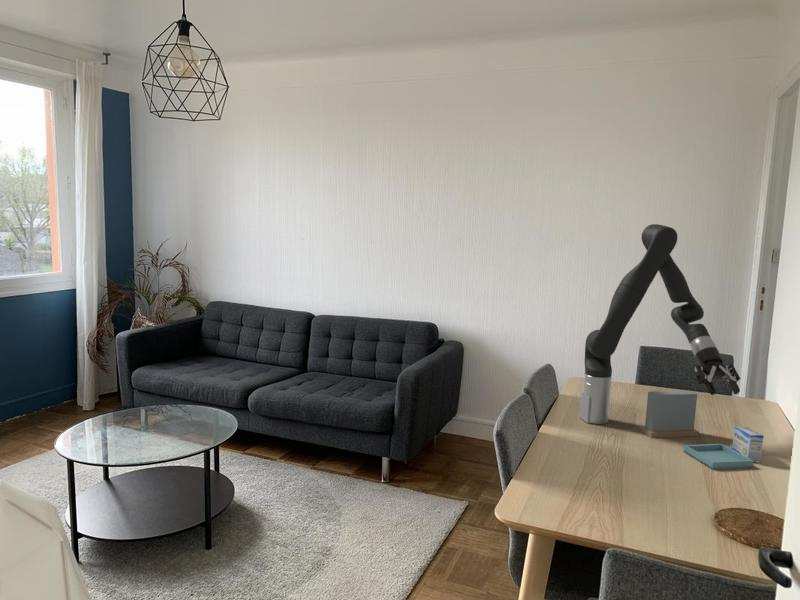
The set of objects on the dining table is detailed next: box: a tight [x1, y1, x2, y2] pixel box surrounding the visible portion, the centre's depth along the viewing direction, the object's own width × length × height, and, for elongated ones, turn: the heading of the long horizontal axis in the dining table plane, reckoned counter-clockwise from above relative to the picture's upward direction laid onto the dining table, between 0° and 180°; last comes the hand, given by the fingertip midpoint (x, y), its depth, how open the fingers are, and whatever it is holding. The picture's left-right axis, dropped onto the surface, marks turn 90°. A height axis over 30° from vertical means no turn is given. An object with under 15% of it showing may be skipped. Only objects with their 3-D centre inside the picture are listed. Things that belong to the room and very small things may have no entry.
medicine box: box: [731, 426, 764, 463], centre depth 186 cm, size 8×4×9 cm, turn 5°
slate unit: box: [639, 390, 700, 438], centre depth 205 cm, size 18×7×14 cm, turn 100°
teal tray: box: [682, 443, 754, 471], centre depth 183 cm, size 14×14×2 cm
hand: (725, 393), depth 195 cm, fingers open, 8 cm apart
